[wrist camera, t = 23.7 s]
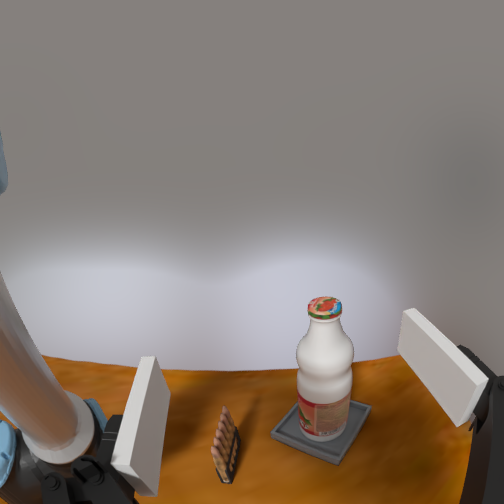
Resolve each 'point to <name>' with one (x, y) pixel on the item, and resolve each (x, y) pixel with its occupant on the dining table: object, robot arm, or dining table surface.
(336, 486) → the dining table surface
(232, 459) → the ammunition clip
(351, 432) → the tray
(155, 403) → the robot arm
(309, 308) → the white milk bottle
